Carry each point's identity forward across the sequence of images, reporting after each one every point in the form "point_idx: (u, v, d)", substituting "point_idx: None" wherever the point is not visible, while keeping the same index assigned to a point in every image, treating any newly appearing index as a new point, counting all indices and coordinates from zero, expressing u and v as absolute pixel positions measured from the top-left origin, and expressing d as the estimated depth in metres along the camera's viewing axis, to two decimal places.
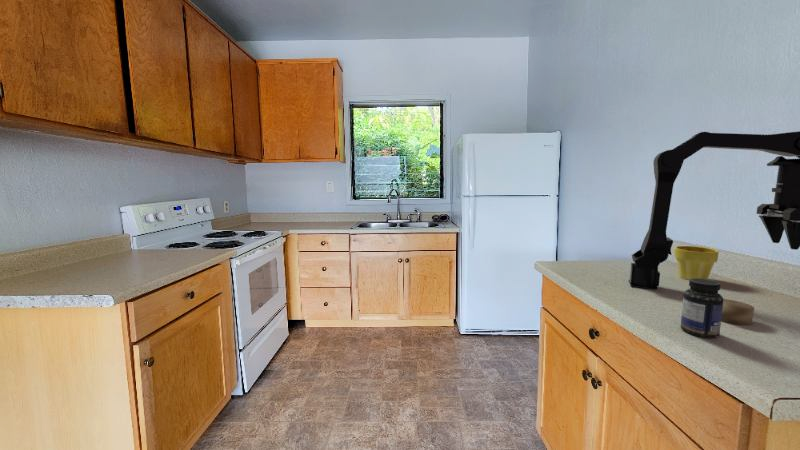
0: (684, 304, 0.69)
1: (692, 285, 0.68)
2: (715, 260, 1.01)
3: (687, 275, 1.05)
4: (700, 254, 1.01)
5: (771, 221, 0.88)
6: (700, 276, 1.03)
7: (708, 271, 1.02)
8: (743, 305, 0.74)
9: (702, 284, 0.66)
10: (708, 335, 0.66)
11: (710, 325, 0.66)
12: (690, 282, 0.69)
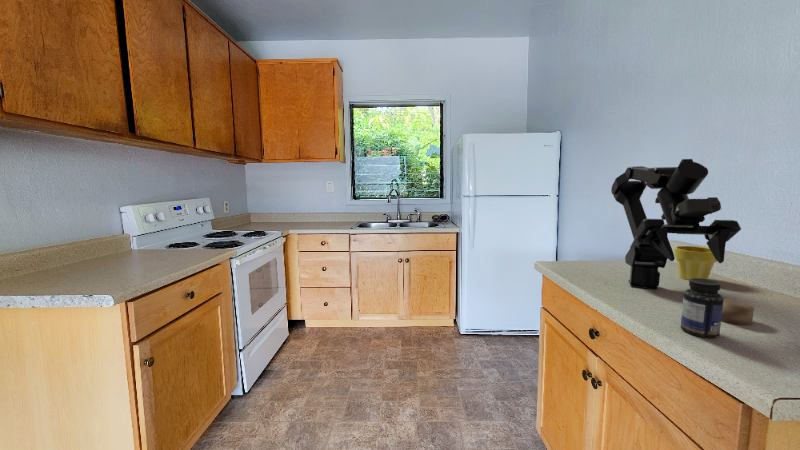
0: (684, 304, 0.69)
1: (692, 285, 0.68)
2: (715, 260, 1.01)
3: (687, 275, 1.05)
4: (700, 254, 1.01)
5: (711, 243, 0.77)
6: (700, 276, 1.03)
7: (708, 271, 1.02)
8: (743, 305, 0.74)
9: (702, 284, 0.66)
10: (708, 335, 0.66)
11: (710, 325, 0.66)
12: (690, 282, 0.69)
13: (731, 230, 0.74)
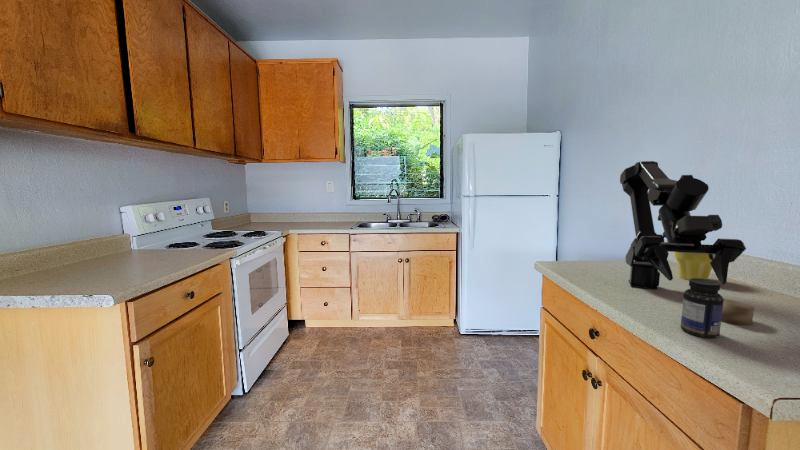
0: (684, 304, 0.69)
1: (692, 285, 0.68)
2: None
3: (687, 275, 1.05)
4: (700, 254, 1.01)
5: (714, 263, 0.73)
6: (700, 276, 1.03)
7: (708, 271, 1.02)
8: (743, 305, 0.74)
9: (702, 284, 0.66)
10: (708, 335, 0.66)
11: (710, 325, 0.66)
12: (690, 282, 0.69)
13: (735, 249, 0.70)
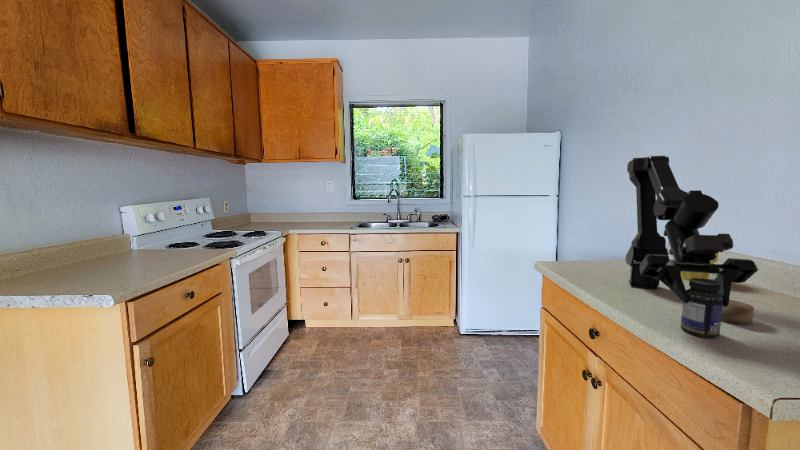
0: (684, 304, 0.69)
1: (692, 285, 0.68)
2: (715, 260, 1.01)
3: (687, 275, 1.05)
4: None
5: None
6: (700, 276, 1.03)
7: None
8: (743, 305, 0.74)
9: (702, 284, 0.66)
10: (708, 335, 0.66)
11: (710, 325, 0.66)
12: (690, 282, 0.69)
13: (737, 270, 0.67)
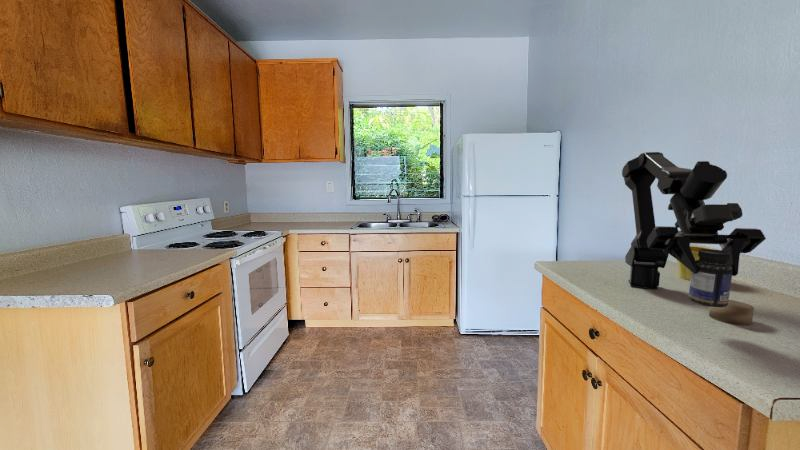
0: (693, 275, 0.69)
1: (702, 255, 0.68)
2: None
3: (687, 275, 1.05)
4: None
5: None
6: None
7: None
8: (743, 305, 0.74)
9: (712, 254, 0.66)
10: (717, 304, 0.66)
11: (720, 295, 0.66)
12: (700, 252, 0.68)
13: (746, 239, 0.67)
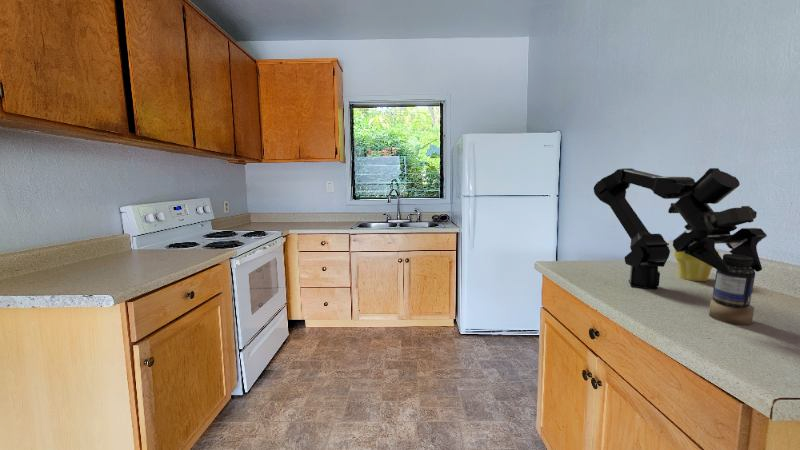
0: (722, 279, 0.74)
1: (731, 261, 0.73)
2: None
3: (687, 275, 1.05)
4: None
5: (738, 252, 0.78)
6: (700, 276, 1.03)
7: (708, 271, 1.02)
8: None
9: (742, 259, 0.72)
10: (746, 305, 0.72)
11: (748, 296, 0.72)
12: (728, 258, 0.74)
13: (759, 238, 0.75)
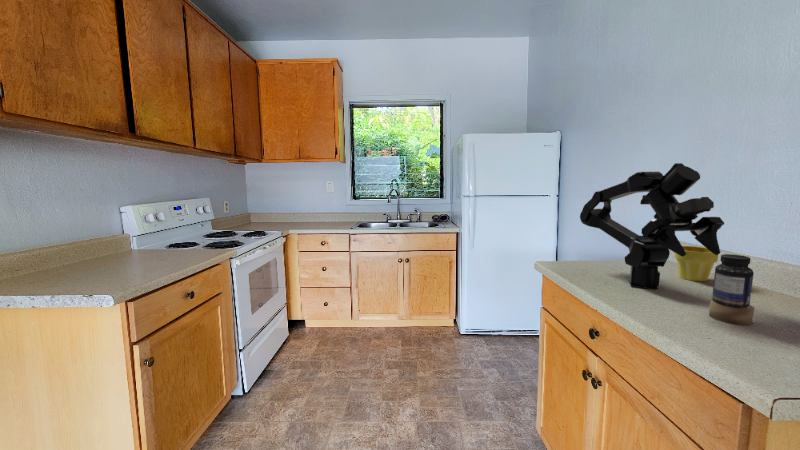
0: (721, 279, 0.74)
1: (729, 261, 0.73)
2: (715, 260, 1.01)
3: (687, 275, 1.05)
4: (700, 254, 1.01)
5: (701, 238, 0.87)
6: (700, 276, 1.03)
7: (708, 271, 1.02)
8: None
9: (740, 259, 0.72)
10: (746, 305, 0.72)
11: (747, 296, 0.72)
12: (725, 258, 0.74)
13: (719, 225, 0.84)
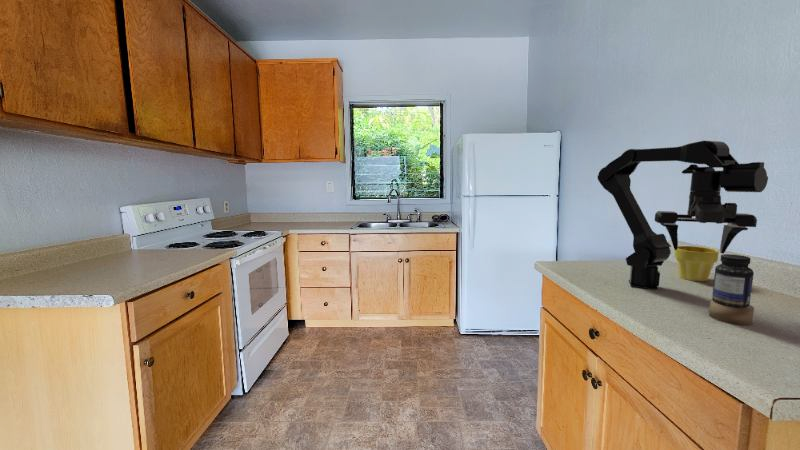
0: (721, 279, 0.74)
1: (729, 261, 0.73)
2: (715, 260, 1.01)
3: (687, 275, 1.05)
4: (700, 254, 1.01)
5: (724, 230, 0.84)
6: (700, 276, 1.03)
7: (708, 271, 1.02)
8: None
9: (740, 259, 0.72)
10: (746, 305, 0.72)
11: (747, 296, 0.72)
12: (725, 258, 0.74)
13: (743, 229, 0.79)
